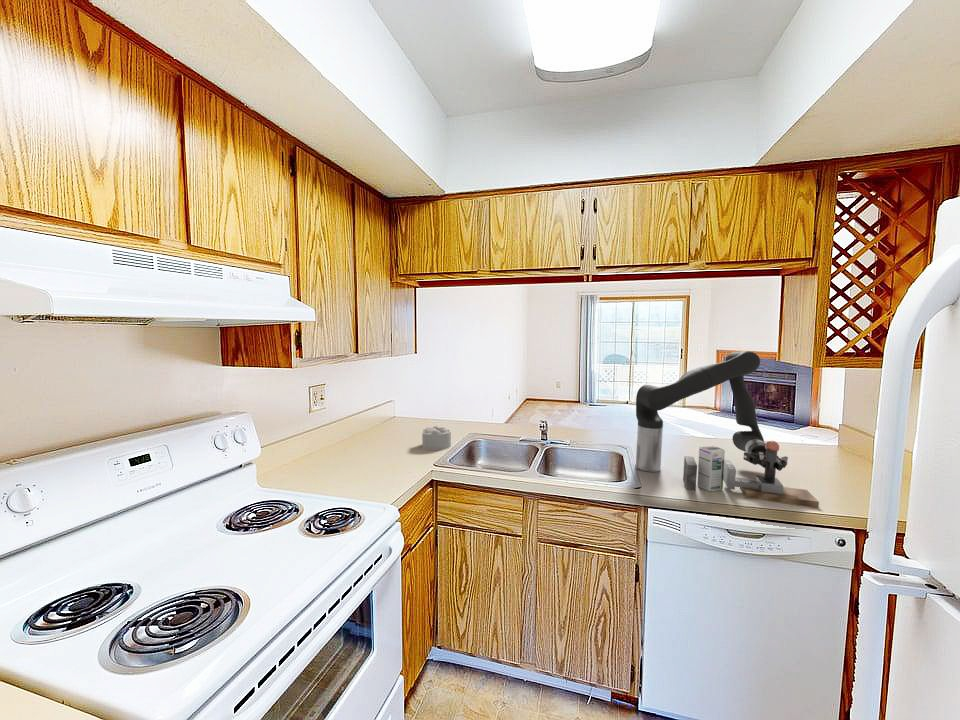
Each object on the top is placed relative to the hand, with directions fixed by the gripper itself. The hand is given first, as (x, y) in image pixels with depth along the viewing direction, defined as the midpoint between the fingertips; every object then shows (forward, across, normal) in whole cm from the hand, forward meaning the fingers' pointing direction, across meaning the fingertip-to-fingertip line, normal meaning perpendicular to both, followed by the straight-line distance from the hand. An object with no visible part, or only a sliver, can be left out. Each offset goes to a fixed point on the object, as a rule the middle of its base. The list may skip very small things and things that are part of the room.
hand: (773, 466), depth 138 cm
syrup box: (-3, -18, +11) cm, 21 cm away
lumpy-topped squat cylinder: (-9, -128, +11) cm, 129 cm away
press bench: (-3, -7, +11) cm, 13 cm away
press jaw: (-3, -5, +9) cm, 10 cm away
